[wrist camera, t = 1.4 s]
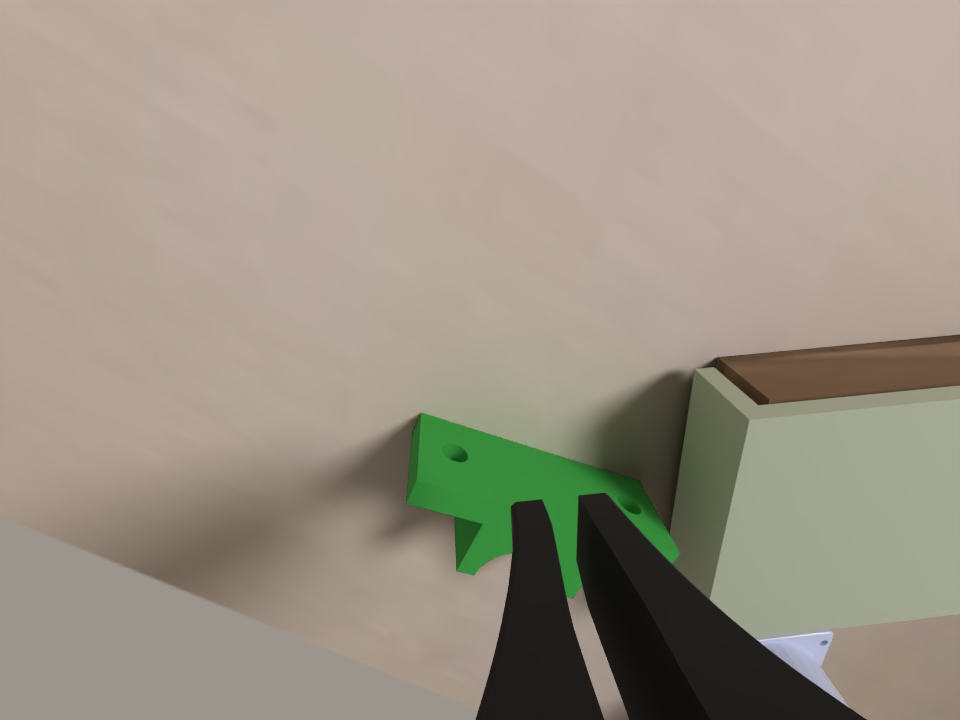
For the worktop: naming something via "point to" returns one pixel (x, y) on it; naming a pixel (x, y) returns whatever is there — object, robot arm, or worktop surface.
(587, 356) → the worktop surface
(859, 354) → the brown wooden shallow box
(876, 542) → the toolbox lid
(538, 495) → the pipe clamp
